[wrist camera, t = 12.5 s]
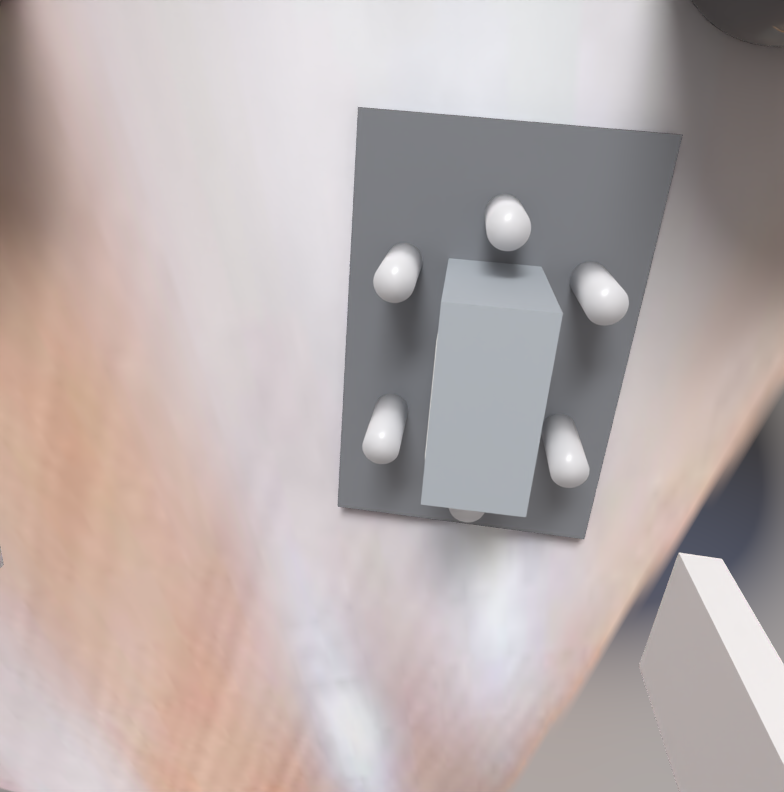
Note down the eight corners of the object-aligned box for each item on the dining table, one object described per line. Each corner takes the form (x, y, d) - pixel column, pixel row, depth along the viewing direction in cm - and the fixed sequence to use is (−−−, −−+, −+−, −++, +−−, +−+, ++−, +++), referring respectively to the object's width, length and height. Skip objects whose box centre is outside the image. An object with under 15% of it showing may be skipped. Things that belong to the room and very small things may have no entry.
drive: (431, 422, 39) (419, 504, 31) (447, 258, 35) (439, 301, 27) (515, 432, 38) (526, 517, 30) (542, 266, 34) (564, 313, 26)
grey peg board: (341, 496, 43) (321, 553, 37) (361, 107, 33) (339, 105, 28) (581, 528, 42) (598, 592, 36) (675, 134, 32) (718, 137, 27)
